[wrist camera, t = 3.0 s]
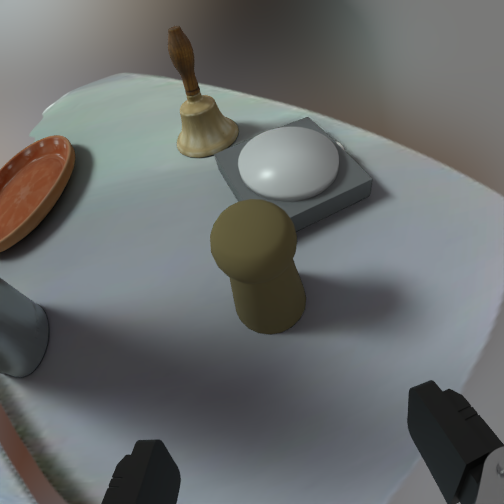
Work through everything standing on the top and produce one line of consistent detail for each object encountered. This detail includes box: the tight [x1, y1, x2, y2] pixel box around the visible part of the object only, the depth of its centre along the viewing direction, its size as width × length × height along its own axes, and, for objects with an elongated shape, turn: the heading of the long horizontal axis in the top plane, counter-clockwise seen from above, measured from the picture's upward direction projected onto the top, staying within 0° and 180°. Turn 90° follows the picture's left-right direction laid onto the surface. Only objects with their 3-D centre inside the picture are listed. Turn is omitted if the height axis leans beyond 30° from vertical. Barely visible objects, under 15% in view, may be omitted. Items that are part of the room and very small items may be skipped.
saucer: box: [0, 135, 75, 252], centre depth 41 cm, size 23×23×4 cm
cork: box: [210, 199, 306, 334], centre depth 23 cm, size 6×6×11 cm
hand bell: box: [168, 26, 239, 158], centre depth 34 cm, size 8×8×16 cm
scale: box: [214, 117, 373, 231], centre depth 33 cm, size 12×12×4 cm
